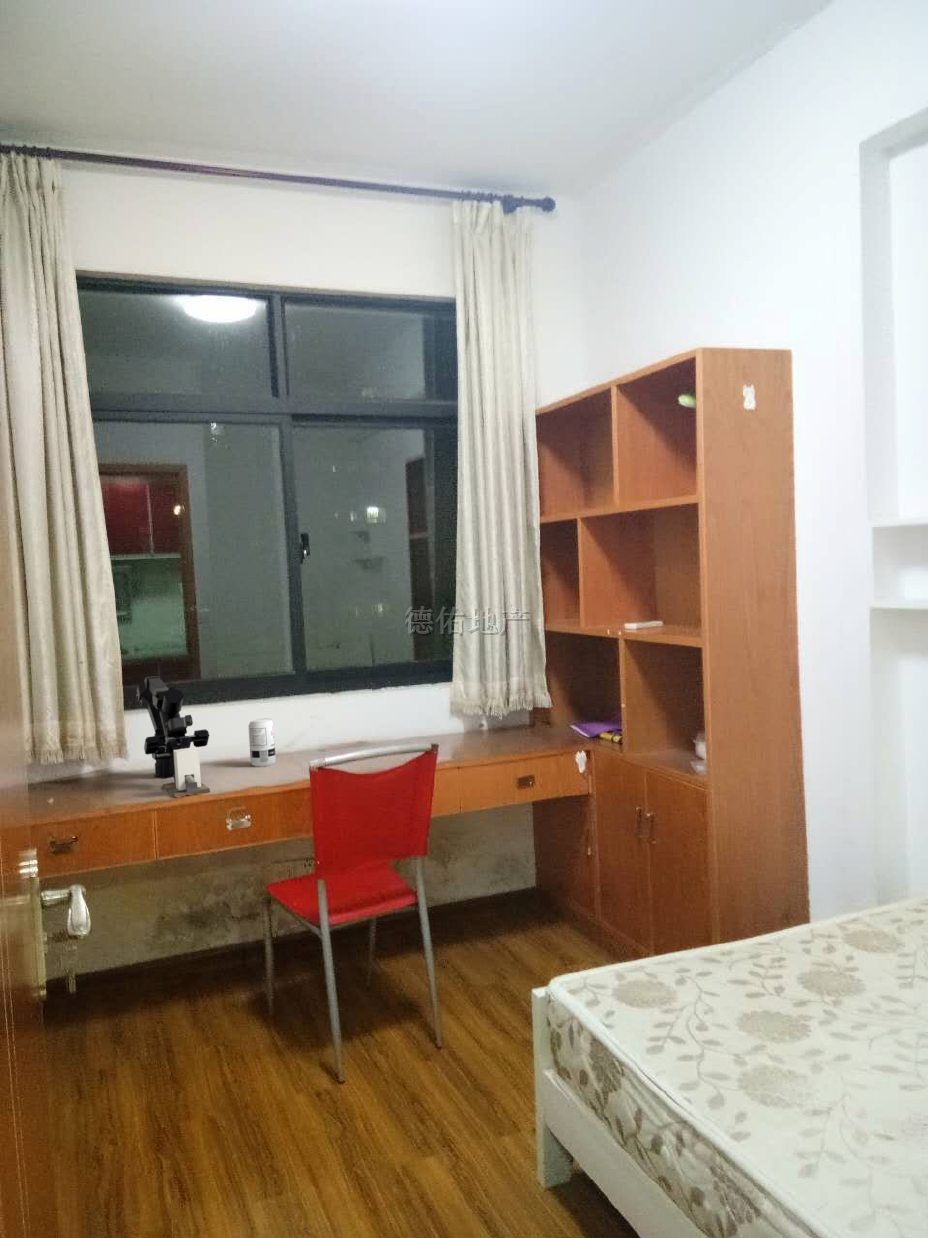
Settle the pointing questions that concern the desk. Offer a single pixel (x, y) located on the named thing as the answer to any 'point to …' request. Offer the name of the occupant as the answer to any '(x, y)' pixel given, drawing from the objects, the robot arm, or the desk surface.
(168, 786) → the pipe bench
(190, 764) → the white upright block
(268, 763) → the supplement can
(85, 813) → the desk surface
